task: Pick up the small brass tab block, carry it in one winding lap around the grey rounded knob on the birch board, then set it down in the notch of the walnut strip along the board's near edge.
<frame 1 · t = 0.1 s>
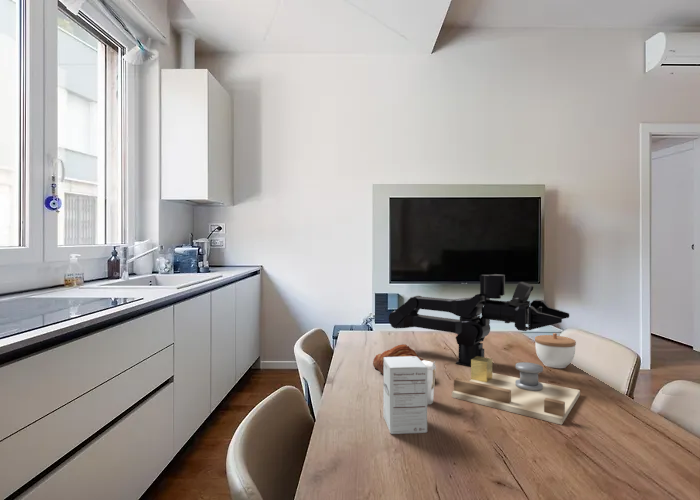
hand: (565, 317, 103), 17 cm above the table, tool horizontal, fingers open, 9 cm apart
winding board: (516, 396, 93), on the table
supplement box: (404, 426, 78), on the table
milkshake: (426, 403, 90), on the table
grey rounded knob: (528, 386, 96), resting on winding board
tab: (481, 378, 102), point 1 cm above the table, touching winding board
pastry: (402, 375, 110), on the table
lidded jar: (554, 365, 118), on the table
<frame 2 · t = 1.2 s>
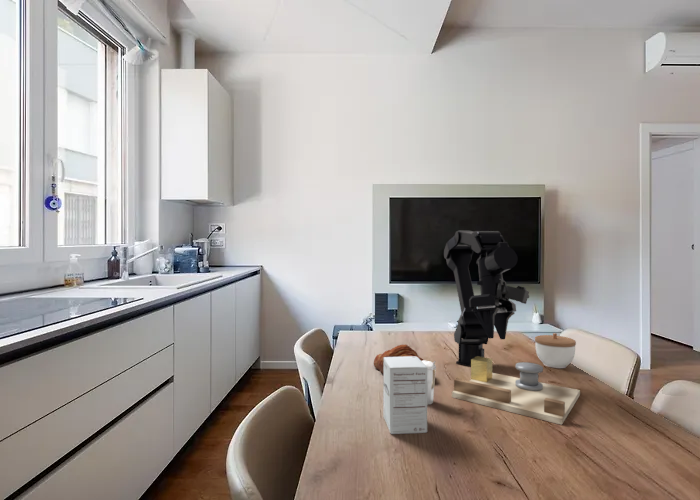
hand: (497, 338, 100), 12 cm above the table, tool tilted 15°, fingers open, 9 cm apart
nothing on the table moved.
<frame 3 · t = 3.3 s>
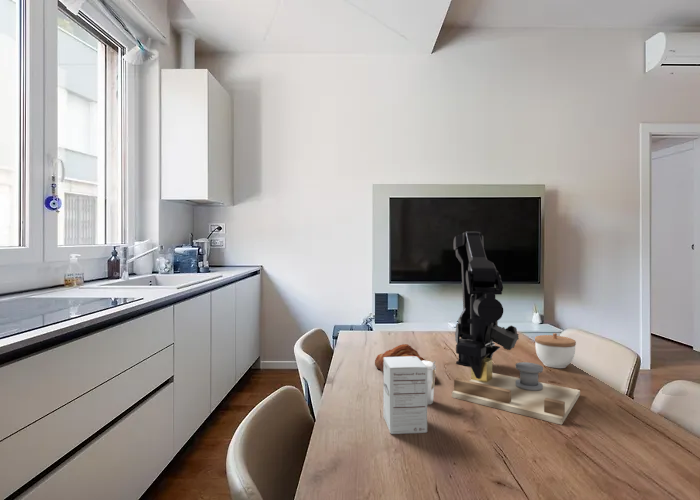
hand: (481, 376, 102), 2 cm above the table, tool pointing down, fingers closed on tab, 4 cm apart
tab: (481, 378, 102), point 1 cm above the table, touching gripper, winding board
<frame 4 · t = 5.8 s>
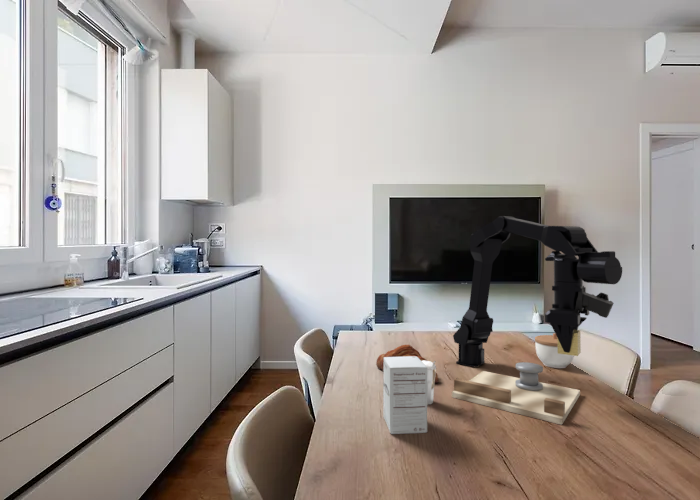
hand: (568, 350, 91), 11 cm above the table, tool pointing down, fingers closed on tab, 4 cm apart
tab: (569, 352, 91), point 11 cm above the table, touching gripper
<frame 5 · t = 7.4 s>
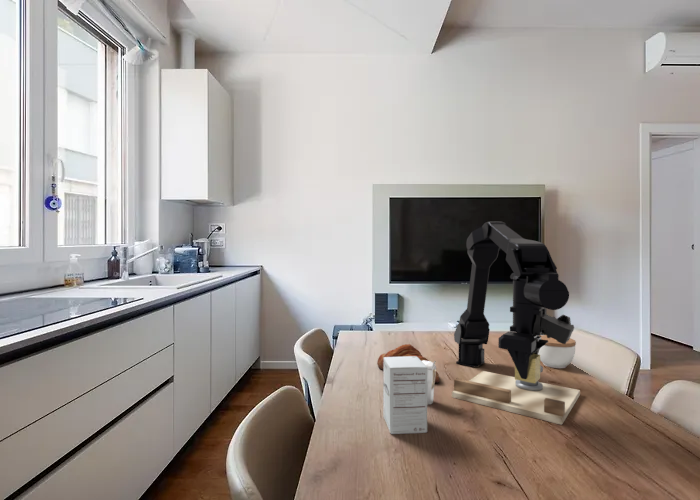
hand: (527, 376, 84), 8 cm above the table, tool pointing down, fingers closed on tab, 4 cm apart
tab: (527, 378, 84), point 7 cm above the table, touching gripper
when the fingers open (3 cm above the table, at t = 8.4 s): tab drops 2 cm, resting on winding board.
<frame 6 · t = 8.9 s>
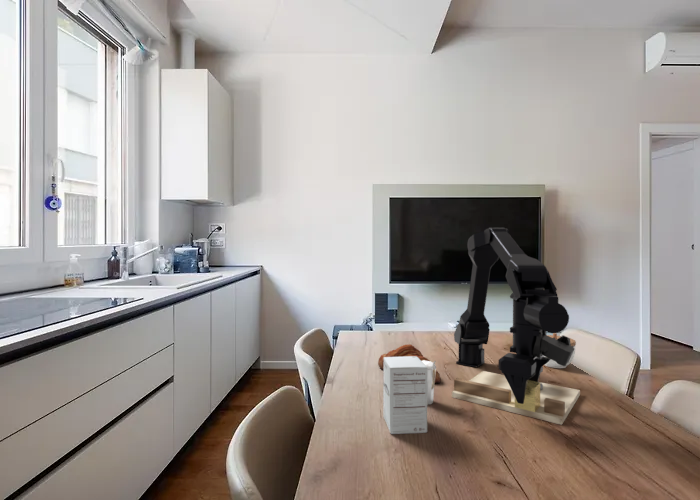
hand: (527, 396, 84), 3 cm above the table, tool pointing down, fingers open, 9 cm apart
tab: (527, 406, 84), point 1 cm above the table, touching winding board
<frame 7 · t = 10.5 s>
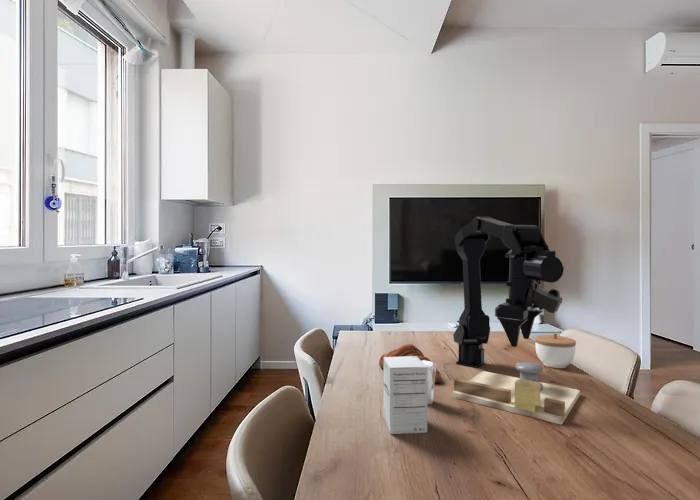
hand: (520, 342, 96), 12 cm above the table, tool pointing down, fingers open, 9 cm apart
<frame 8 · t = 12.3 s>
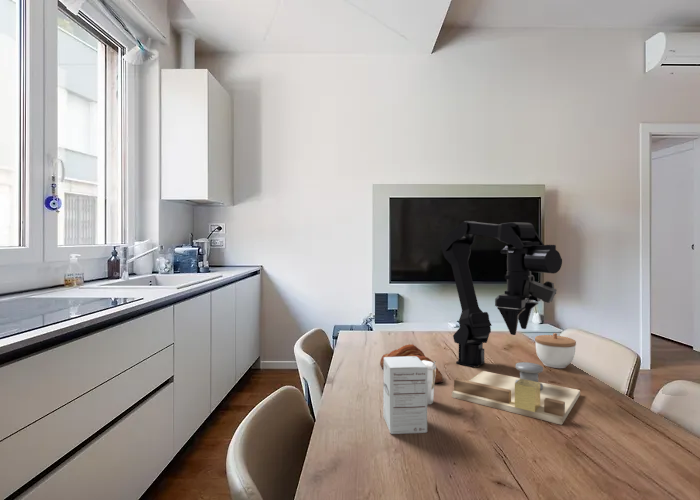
hand: (518, 331, 103), 13 cm above the table, tool pointing down, fingers open, 9 cm apart
at the end: tab 0.1 cm from the target spot, point 1.2 cm above the table; tab tilted 0°; the gripper is holding nothing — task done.
